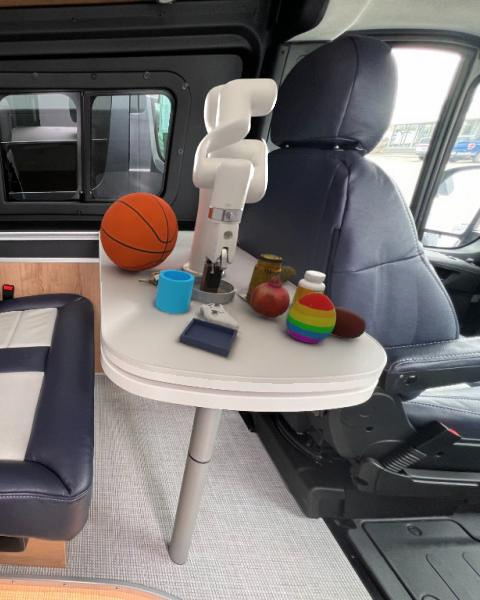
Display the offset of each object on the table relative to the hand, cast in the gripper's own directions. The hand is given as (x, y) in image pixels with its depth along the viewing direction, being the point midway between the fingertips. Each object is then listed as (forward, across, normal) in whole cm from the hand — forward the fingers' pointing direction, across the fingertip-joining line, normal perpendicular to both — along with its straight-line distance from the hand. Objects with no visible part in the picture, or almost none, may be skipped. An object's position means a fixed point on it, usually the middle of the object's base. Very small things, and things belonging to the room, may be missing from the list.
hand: (209, 283), depth 86 cm
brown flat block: (+3, 0, -1) cm, 3 cm away
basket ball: (+3, +20, +21) cm, 29 cm away
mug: (+3, -7, +11) cm, 13 cm away
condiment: (+3, -3, -13) cm, 13 cm away
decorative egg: (+3, -21, -14) cm, 25 cm away
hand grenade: (0, +13, -28) cm, 31 cm away
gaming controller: (+3, -16, +3) cm, 16 cm away
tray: (+3, -24, +7) cm, 25 cm away
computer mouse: (+3, +6, +11) cm, 13 cm away
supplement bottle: (+3, -7, -22) cm, 23 cm away
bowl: (+3, 0, 0) cm, 3 cm away
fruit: (+3, -12, -10) cm, 16 cm away
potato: (-3, -18, -23) cm, 29 cm away
